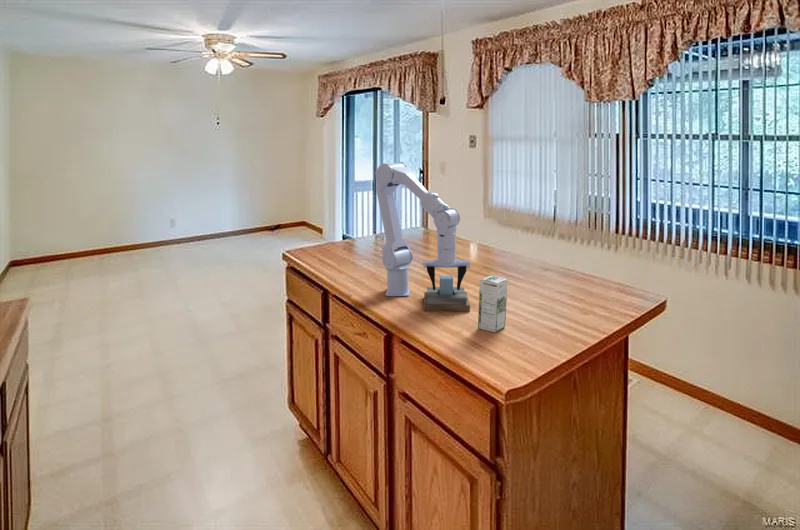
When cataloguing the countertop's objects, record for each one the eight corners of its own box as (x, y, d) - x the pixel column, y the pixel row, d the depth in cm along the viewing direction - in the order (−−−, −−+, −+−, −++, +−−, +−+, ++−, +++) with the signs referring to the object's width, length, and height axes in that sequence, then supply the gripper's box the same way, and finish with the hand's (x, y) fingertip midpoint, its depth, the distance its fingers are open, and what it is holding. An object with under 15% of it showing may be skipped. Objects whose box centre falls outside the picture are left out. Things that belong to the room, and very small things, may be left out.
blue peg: (439, 296, 174) (439, 275, 172) (452, 296, 174) (452, 275, 172) (440, 300, 170) (440, 279, 168) (452, 300, 170) (453, 279, 168)
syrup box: (487, 323, 156) (489, 274, 152) (506, 327, 152) (508, 278, 148) (477, 328, 151) (478, 279, 148) (496, 333, 148) (497, 282, 144)
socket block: (424, 297, 179) (424, 286, 178) (466, 297, 179) (466, 286, 178) (424, 311, 166) (424, 299, 165) (469, 311, 165) (470, 299, 164)
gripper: (423, 250, 164) (423, 293, 168) (471, 250, 164) (470, 293, 167) (423, 245, 171) (423, 286, 174) (469, 245, 170) (468, 286, 174)
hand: (446, 289), depth 171 cm, fingers open, 7 cm apart
